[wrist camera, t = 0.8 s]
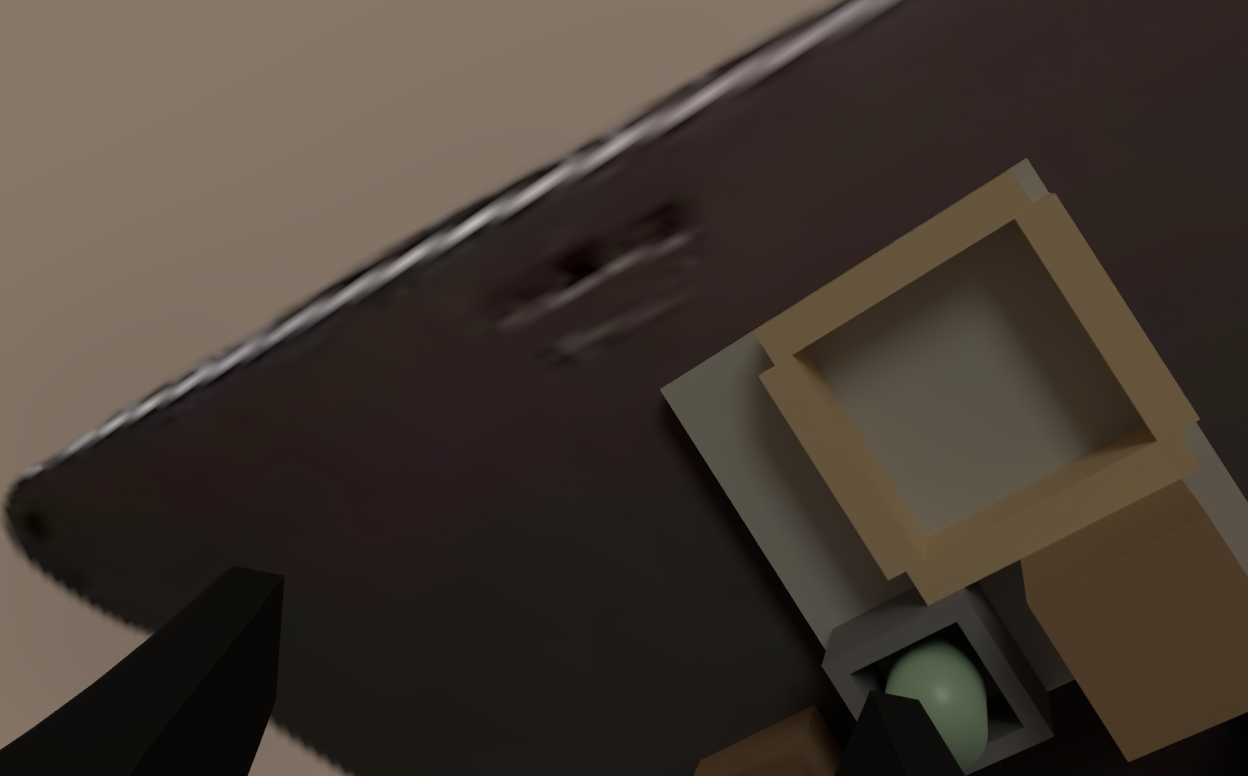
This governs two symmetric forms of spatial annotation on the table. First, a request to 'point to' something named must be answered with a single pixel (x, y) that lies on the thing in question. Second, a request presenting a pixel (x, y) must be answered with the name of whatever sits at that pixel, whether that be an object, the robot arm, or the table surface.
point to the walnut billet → (780, 750)
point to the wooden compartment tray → (988, 477)
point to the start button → (945, 690)
